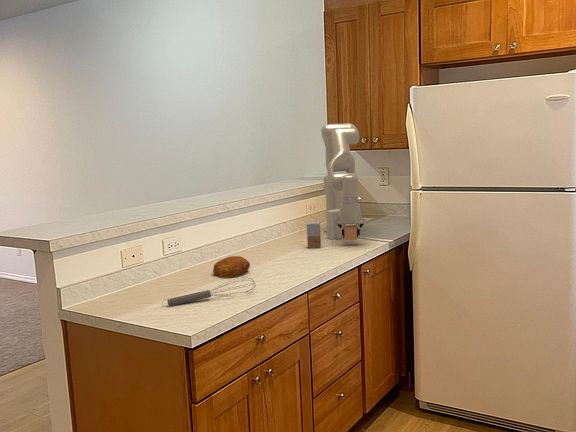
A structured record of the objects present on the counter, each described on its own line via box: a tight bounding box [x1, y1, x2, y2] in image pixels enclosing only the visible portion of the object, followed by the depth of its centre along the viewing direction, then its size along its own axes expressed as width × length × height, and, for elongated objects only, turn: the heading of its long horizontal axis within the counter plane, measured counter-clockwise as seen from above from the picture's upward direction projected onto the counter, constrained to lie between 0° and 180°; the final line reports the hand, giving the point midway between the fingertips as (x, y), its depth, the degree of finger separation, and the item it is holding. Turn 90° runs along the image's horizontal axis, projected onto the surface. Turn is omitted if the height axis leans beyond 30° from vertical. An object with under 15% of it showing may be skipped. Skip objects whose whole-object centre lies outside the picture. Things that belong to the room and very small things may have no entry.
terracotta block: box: [344, 224, 358, 241], centre depth 281 cm, size 6×6×6 cm
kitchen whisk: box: [161, 276, 257, 307], centre depth 202 cm, size 6×34×6 cm, turn 113°
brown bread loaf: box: [212, 255, 251, 279], centre depth 237 cm, size 14×16×8 cm
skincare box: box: [325, 209, 343, 241], centre depth 300 cm, size 8×6×15 cm
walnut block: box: [306, 235, 322, 249], centre depth 281 cm, size 6×6×6 cm
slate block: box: [306, 221, 321, 237], centre depth 280 cm, size 6×6×6 cm
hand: (350, 236), depth 281 cm, fingers closed on terracotta block, 6 cm apart
